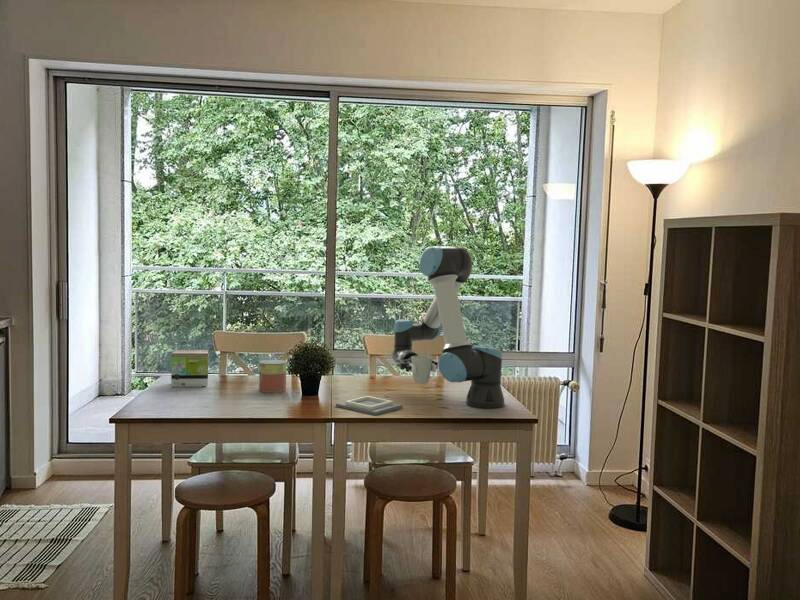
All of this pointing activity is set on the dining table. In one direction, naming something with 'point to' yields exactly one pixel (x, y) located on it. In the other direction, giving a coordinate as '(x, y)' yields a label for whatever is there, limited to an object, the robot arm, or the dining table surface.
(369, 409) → the grey rectangular frame
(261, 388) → the canned food
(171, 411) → the dining table surface
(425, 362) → the cup
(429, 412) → the dining table surface
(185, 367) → the tea box
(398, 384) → the dining table surface
